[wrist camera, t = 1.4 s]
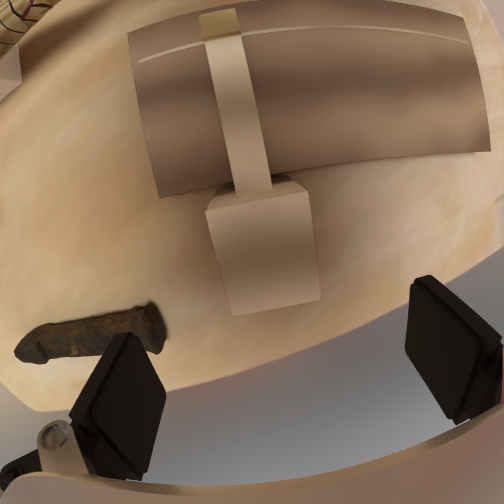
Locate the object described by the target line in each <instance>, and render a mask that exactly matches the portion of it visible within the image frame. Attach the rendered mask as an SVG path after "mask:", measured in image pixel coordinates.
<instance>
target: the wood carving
mask: <svg viewBox="0 0 504 504" xmlns="http://www.w3.org/2000/svg"><path fill="white" fill-rule="evenodd" d="M60 1H61V0H1V1H0V102H1V101H2V100H3V99H4V98H5V97H6V96H7V95H8V94H9V93H10V92H12V91H13V90H14V89H15V88H16V87H17V86H19V85H20V84H21V83H22V75H21V67H20V57H19V45H18V41H19V40H20V39H21V38H22V37H23V36H24V35H25V34H26V33H27V32H28V31H29V30H30V28H32V27H33V26H34V25H35V24H36V23H37V22H38V21H39V20H40V19H41V18H42V17H43V16H44V15H45V14H46V13H47V12H48V11H49V10H51V9H52V8H53V7H54V6H55V5H56V4H57V3H59V2H60Z"/></svg>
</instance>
